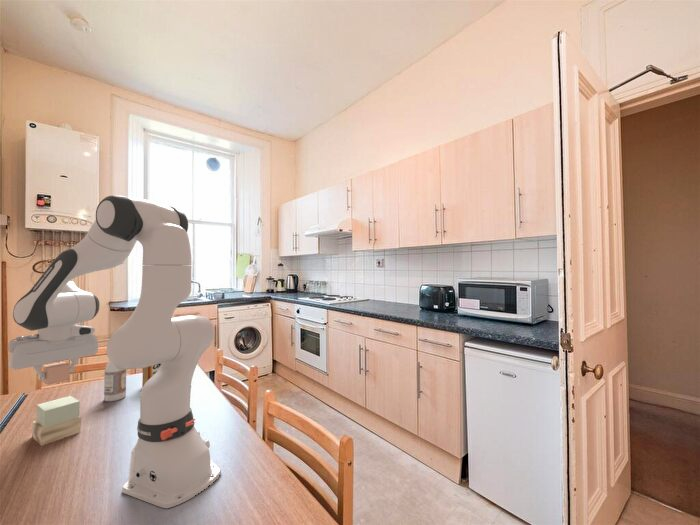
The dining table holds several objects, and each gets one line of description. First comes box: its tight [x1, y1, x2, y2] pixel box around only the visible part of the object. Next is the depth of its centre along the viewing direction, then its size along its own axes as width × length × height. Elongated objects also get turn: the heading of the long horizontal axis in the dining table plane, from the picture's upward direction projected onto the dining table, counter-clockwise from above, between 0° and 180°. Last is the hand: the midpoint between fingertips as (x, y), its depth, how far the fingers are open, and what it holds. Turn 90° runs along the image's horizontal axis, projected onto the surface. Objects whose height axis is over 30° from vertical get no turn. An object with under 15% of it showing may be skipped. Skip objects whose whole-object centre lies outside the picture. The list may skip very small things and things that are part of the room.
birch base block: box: [31, 415, 82, 447], centre depth 95 cm, size 9×9×5 cm
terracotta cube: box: [41, 361, 71, 386], centre depth 95 cm, size 5×5×5 cm
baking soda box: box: [141, 363, 161, 388], centre depth 136 cm, size 10×6×16 cm
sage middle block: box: [35, 395, 80, 428], centre depth 95 cm, size 8×8×5 cm
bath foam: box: [103, 359, 127, 402], centre depth 122 cm, size 7×7×20 cm
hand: (56, 375), depth 95 cm, fingers closed on terracotta cube, 5 cm apart
